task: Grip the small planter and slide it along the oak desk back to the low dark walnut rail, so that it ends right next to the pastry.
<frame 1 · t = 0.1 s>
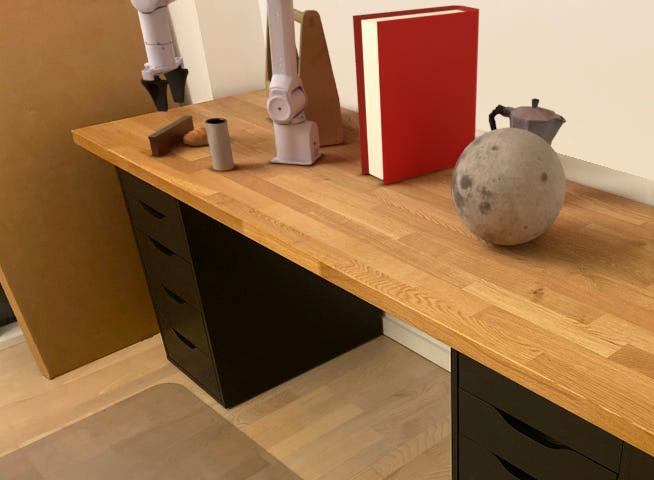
hand: (171, 106, 164), 10 cm above the table, tool pointing down, fingers open, 7 cm apart
wall rail: (174, 144, 173), on the table
moon model: (505, 241, 132), on the table
caddy: (304, 131, 185), on the table
planter: (223, 168, 161), on the table
book: (421, 167, 164), on the table
pastry: (206, 142, 176), on the table
moka pot: (521, 198, 150), on the table
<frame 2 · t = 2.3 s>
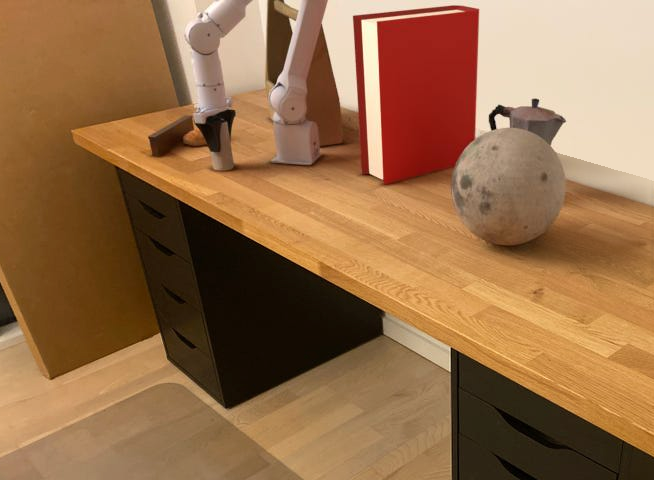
hand: (220, 147, 158), 4 cm above the table, tool pointing down, fingers closed on planter, 4 cm apart
planter: (223, 168, 161), on the table, touching gripper
everything else where it was.
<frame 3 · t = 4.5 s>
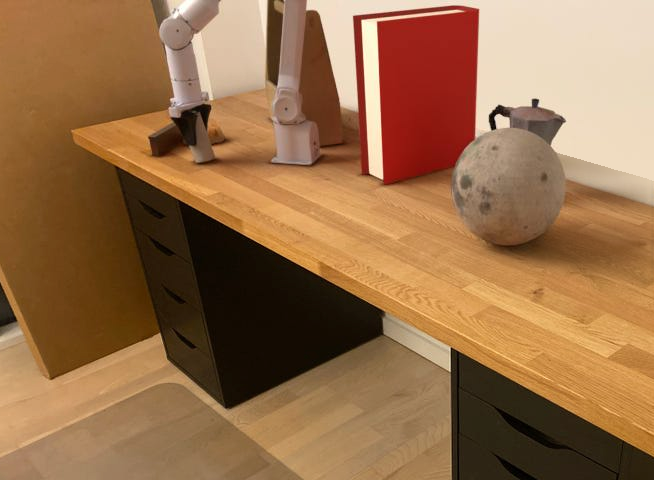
hand: (196, 141, 161), 4 cm above the table, tool pointing down, fingers closed on planter, 4 cm apart
planter: (205, 160, 163), on the table, touching gripper
everything else where it was.
when the fingers open (4 cm above the table, at t = 6.8 s): planter stays where it is, on the table.
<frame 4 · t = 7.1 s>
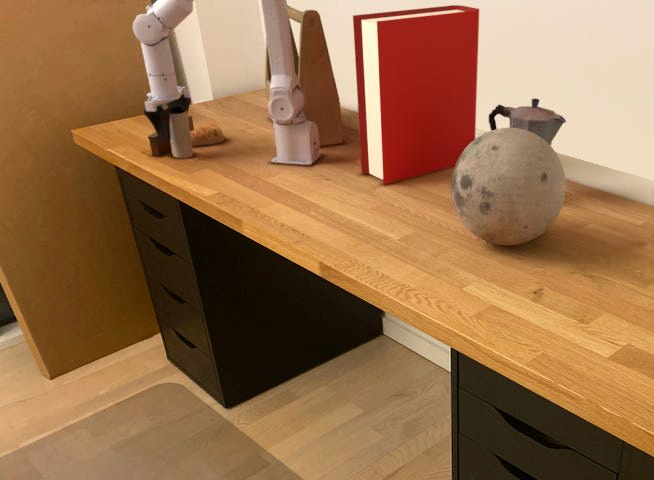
hand: (173, 135, 165), 4 cm above the table, tool pointing down, fingers open, 7 cm apart
planter: (183, 155, 167), on the table
everything else where it was.
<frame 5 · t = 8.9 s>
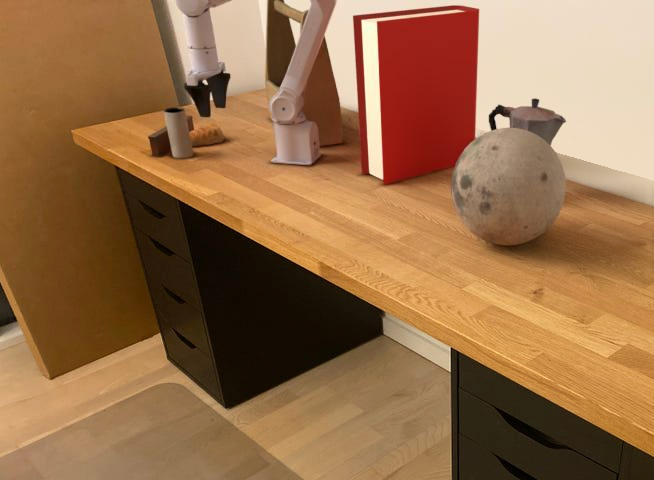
hand: (213, 112, 160), 10 cm above the table, tool pointing down, fingers open, 7 cm apart
nothing on the table moved.
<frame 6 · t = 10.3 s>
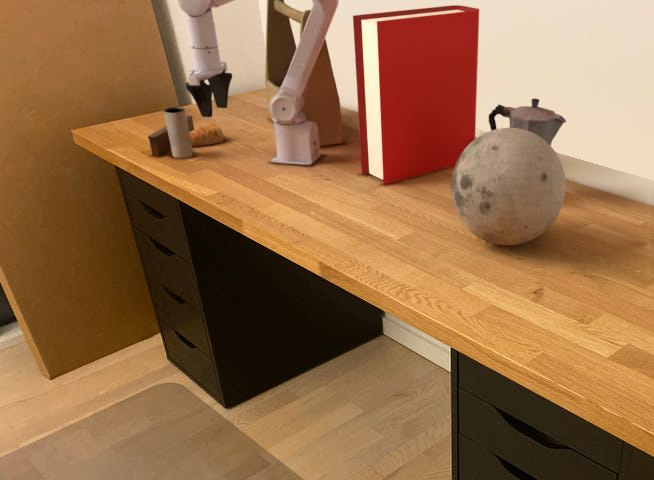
hand: (214, 112, 160), 10 cm above the table, tool pointing down, fingers open, 7 cm apart
nothing on the table moved.
at the end: planter 1.4 cm from the target spot, on the table; planter 10.7 cm from the pastry (horizontally); planter tilted 0° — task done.
